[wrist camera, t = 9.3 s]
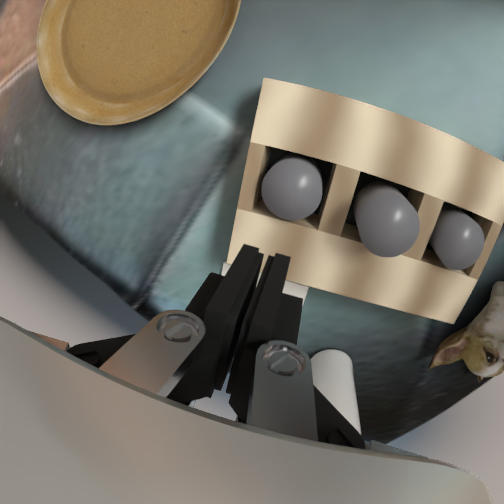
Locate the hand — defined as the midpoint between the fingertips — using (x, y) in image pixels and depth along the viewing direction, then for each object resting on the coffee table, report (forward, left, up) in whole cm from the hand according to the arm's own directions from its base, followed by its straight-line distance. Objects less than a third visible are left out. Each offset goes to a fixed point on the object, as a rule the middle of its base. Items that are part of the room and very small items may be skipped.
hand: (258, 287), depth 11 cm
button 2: (-15, 0, -19) cm, 24 cm away
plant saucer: (+20, -14, -19) cm, 31 cm away
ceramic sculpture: (-26, +9, -19) cm, 34 cm away
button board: (-7, 0, -19) cm, 20 cm away
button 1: (0, 0, -19) cm, 19 cm away
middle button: (-7, 0, -17) cm, 18 cm away
